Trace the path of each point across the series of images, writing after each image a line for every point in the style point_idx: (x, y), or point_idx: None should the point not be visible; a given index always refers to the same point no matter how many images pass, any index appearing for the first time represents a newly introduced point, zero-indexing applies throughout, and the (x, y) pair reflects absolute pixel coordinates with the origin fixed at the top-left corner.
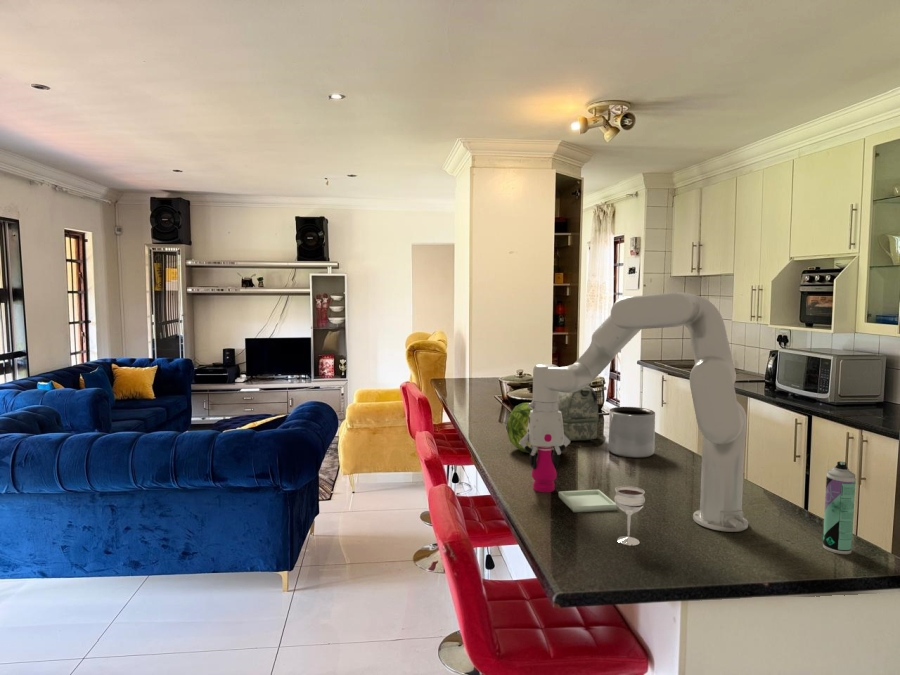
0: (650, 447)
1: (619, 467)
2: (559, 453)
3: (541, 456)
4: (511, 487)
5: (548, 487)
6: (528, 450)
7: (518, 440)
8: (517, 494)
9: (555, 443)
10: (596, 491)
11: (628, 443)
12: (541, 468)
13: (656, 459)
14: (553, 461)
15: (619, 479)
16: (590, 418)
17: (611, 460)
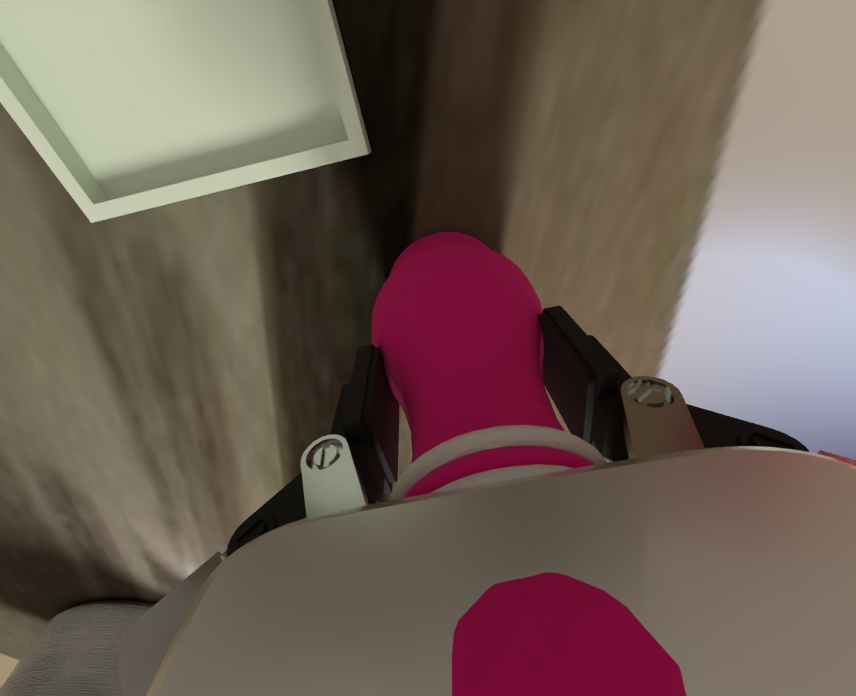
0: (28, 650)
1: (134, 539)
2: (321, 449)
3: (529, 384)
4: (608, 300)
5: (429, 241)
6: (727, 427)
7: None
8: (619, 183)
9: (351, 553)
10: (105, 200)
11: (91, 661)
12: (504, 296)
13: (34, 599)
14: (389, 405)
15: (88, 442)
16: None
17: (181, 579)
